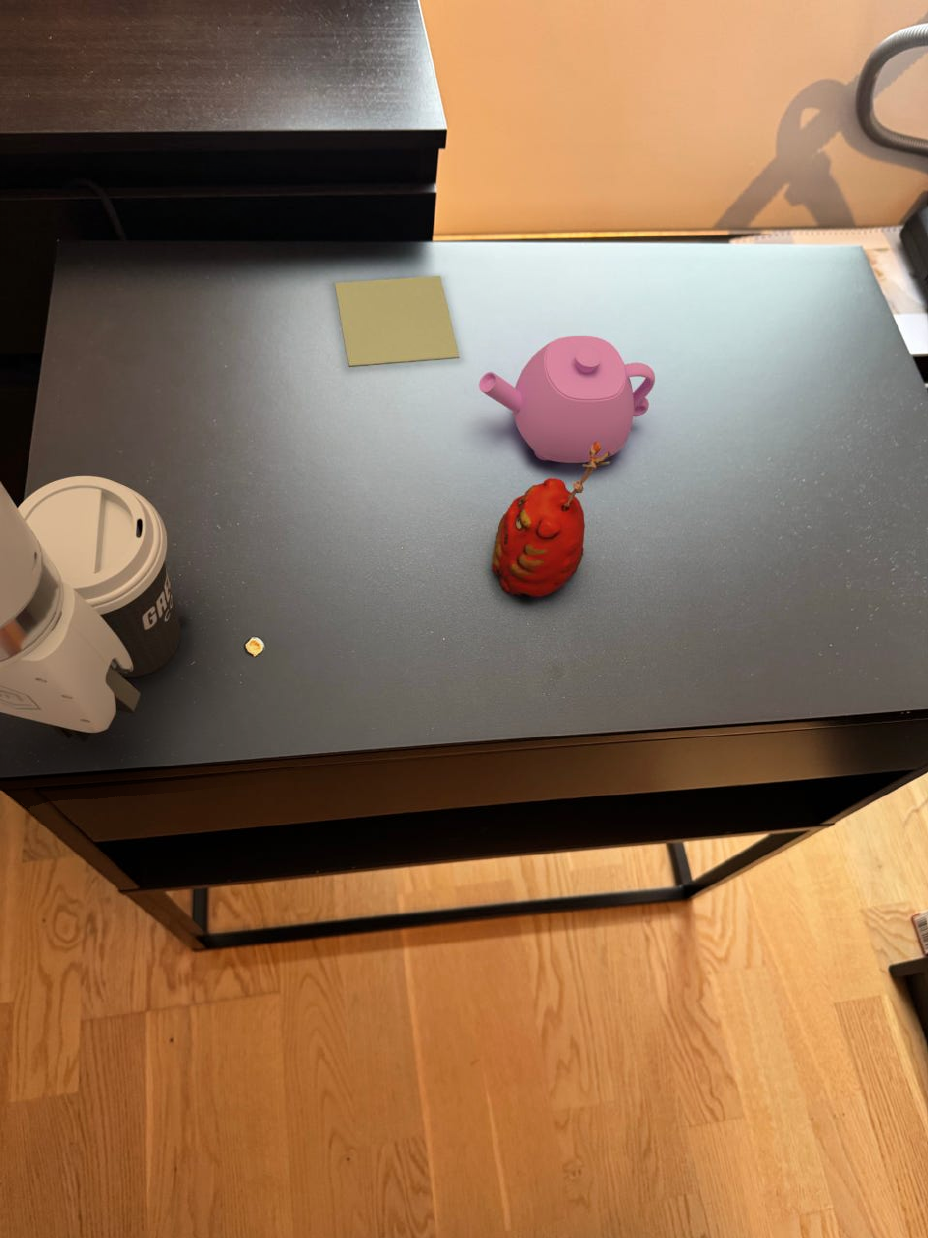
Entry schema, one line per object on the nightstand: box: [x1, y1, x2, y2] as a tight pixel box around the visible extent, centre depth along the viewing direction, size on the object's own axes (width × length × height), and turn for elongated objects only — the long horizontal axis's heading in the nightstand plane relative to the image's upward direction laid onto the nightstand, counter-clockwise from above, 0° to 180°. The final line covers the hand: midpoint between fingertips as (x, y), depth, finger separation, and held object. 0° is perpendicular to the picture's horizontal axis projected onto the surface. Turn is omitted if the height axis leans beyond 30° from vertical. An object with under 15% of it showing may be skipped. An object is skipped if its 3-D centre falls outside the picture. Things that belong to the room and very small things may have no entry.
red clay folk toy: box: [491, 443, 611, 598], centre depth 66 cm, size 8×7×15 cm
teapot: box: [478, 335, 656, 464], centre depth 75 cm, size 10×15×9 cm
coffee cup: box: [17, 475, 182, 678], centre depth 61 cm, size 10×10×15 cm
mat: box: [334, 275, 460, 368], centre depth 83 cm, size 10×10×1 cm
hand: (83, 718), depth 61 cm, fingers closed
